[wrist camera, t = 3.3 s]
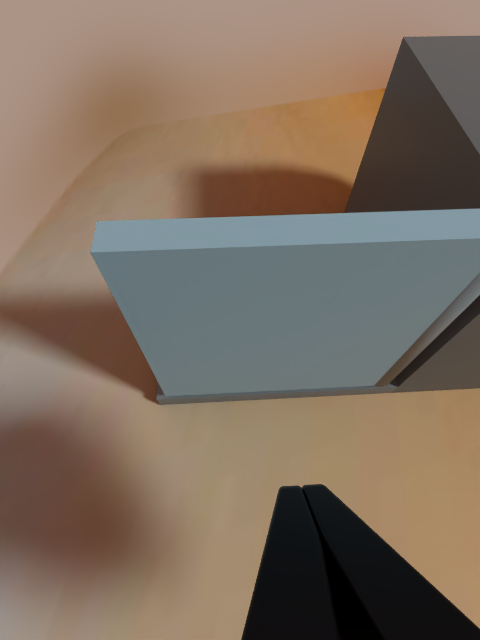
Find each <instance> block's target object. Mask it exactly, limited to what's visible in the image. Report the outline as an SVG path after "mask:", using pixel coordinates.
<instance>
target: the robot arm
mask: <svg viewBox="0 0 480 640" xmlns="http://www.w3.org/2000/svg"><path fill="white" fill-rule="evenodd" d="M241 640H480V629H479V628H478V627H477V626H476V625H475V624H474V623H473V622H472V621H471V620H470V619H469V618H468V617H466V616H465V615H464V614H463V613H462V612H461V611H460V610H459V609H458V608H457V607H456V606H455V605H453V604H452V603H451V602H450V601H449V600H448V599H447V598H446V597H445V596H444V595H443V594H442V593H440V592H439V591H438V590H437V589H436V588H435V587H434V586H433V585H432V584H431V583H430V582H429V581H427V580H426V579H425V578H424V577H423V576H422V575H421V574H420V573H419V572H418V571H417V570H416V569H414V568H413V567H412V566H411V565H410V564H409V563H408V562H407V561H406V560H405V559H404V558H403V557H401V556H400V555H399V554H398V553H397V552H396V551H395V550H394V549H393V548H392V547H391V546H390V545H388V544H387V543H386V542H385V541H384V540H383V539H382V538H381V537H380V536H379V535H378V534H377V533H376V532H374V531H373V530H372V529H371V528H370V527H369V526H368V525H367V524H366V523H365V522H364V521H363V520H361V519H360V518H359V517H358V516H357V515H356V514H355V513H354V512H353V511H352V510H351V509H350V508H348V507H347V506H346V505H345V504H344V503H343V502H342V501H341V500H340V499H339V498H338V497H337V496H335V495H334V494H333V493H332V492H331V491H330V490H329V489H328V488H327V487H326V486H324V485H322V484H314V485H304V486H303V487H302V488H301V487H300V486H282V487H280V489H279V491H278V495H277V499H276V503H275V507H274V511H273V515H272V519H271V523H270V527H269V531H268V535H267V539H266V543H265V547H264V551H263V555H262V559H261V563H260V567H259V571H258V575H257V579H256V583H255V587H254V591H253V595H252V599H251V603H250V607H249V611H248V615H247V619H246V623H245V627H244V631H243V635H242V639H241Z"/></svg>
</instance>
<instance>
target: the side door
mask: <svg viewBox="0 0 480 640" xmlns="http://www.w3.org/2000/svg"><path fill="white" fill-rule="evenodd" d="M90 253H91V255H92V256H93V258H94V260H95V262H96V264H97V266H98V268H99V270H100V272H101V274H102V276H103V278H104V279H105V281H106V283H107V285H108V287H109V289H110V291H111V293H112V295H113V297H114V299H115V301H116V302H117V304H118V306H119V308H120V310H121V312H122V314H123V316H124V318H125V320H126V322H127V324H128V325H129V327H130V329H131V331H132V333H133V335H134V337H135V339H136V341H137V343H138V345H139V347H140V348H141V350H142V352H143V354H144V356H145V358H146V360H147V362H148V364H149V366H150V368H151V370H152V372H153V373H154V375H155V377H156V379H157V381H158V383H159V385H160V387H161V389H162V391H163V393H164V395H165V396H181V395H201V394H220V393H240V392H259V391H279V390H298V389H318V388H338V387H357V386H376V387H385V386H387V385H388V384H389V383H390V382H391V381H392V380H393V379H394V378H395V377H396V376H397V375H398V374H399V373H400V372H401V371H402V370H403V369H404V368H405V367H406V366H407V365H409V364H410V363H411V362H412V361H413V360H414V359H415V358H416V357H417V356H418V355H419V354H420V353H421V352H422V351H423V350H424V349H425V348H426V347H427V346H428V345H429V344H430V343H431V342H432V341H433V340H434V339H435V338H436V337H437V336H438V335H439V334H440V333H441V332H442V331H443V330H444V329H445V328H446V327H447V326H448V325H449V324H450V323H451V322H452V321H454V320H455V319H456V318H457V317H458V316H459V315H460V314H461V313H462V312H463V311H464V310H465V309H466V308H467V307H468V306H469V305H470V304H471V303H472V302H473V301H474V300H475V299H476V298H477V297H478V296H479V295H480V209H451V210H421V211H391V212H361V213H331V214H301V215H271V216H241V217H211V218H181V219H151V220H121V221H97V224H96V228H95V233H94V238H93V243H92V247H91V252H90Z"/></svg>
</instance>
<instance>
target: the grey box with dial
mask: <svg viewBox="0 0 480 640" xmlns="http://www.w3.org/2000/svg"><path fill="white" fill-rule="evenodd" d="M451 209H480V36H442V37H441V36H440V37H403V39H402V42H401V45H400V48H399V51H398V54H397V57H396V60H395V63H394V66H393V69H392V72H391V75H390V78H389V81H388V84H387V87H386V90H385V93H384V96H383V99H382V102H381V105H380V108H379V111H378V114H377V117H376V120H375V123H374V126H373V129H372V132H371V135H370V137H369V140H368V143H367V146H366V149H365V152H364V155H363V158H362V161H361V164H360V167H359V170H358V173H357V176H356V179H355V182H354V185H353V188H352V191H351V194H350V197H349V200H348V203H347V206H346V209H345V212H344V213H361V212H391V211H421V210H451ZM472 388H480V295H479V296H478V297H477V298H476V299H475V300H474V301H473V302H472V303H471V304H470V305H469V306H468V307H467V308H466V309H465V310H464V311H463V312H462V313H461V314H460V315H459V316H458V317H457V318H456V319H455V320H454V321H452V322H451V323H450V324H449V325H448V326H447V327H446V328H445V329H444V330H443V331H442V332H441V333H440V334H439V335H438V336H437V337H436V338H435V339H434V340H433V341H432V342H431V343H430V344H429V345H428V346H427V347H426V348H425V349H424V350H423V351H422V352H421V353H420V354H419V355H418V356H417V357H416V358H415V359H414V360H413V361H412V362H411V363H410V364H409V365H407V366H406V367H405V368H404V369H403V370H402V371H401V372H400V373H399V374H398V375H397V376H396V377H395V378H394V379H393V380H392V381H391V382H390V383H389V384H388V385H387V386H385V387H376V386H357V387H338V388H318V389H298V390H279V391H259V392H240V393H220V394H201V395H181V396H165V395H164V393H163V391H162V389H161V387H160V385H159V383H157V398H156V400H157V401H158V403H159V405H164V404H183V403H203V402H222V401H241V400H260V399H280V398H299V397H318V396H337V395H357V394H376V393H395V392H414V391H434V390H453V389H472Z"/></svg>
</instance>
